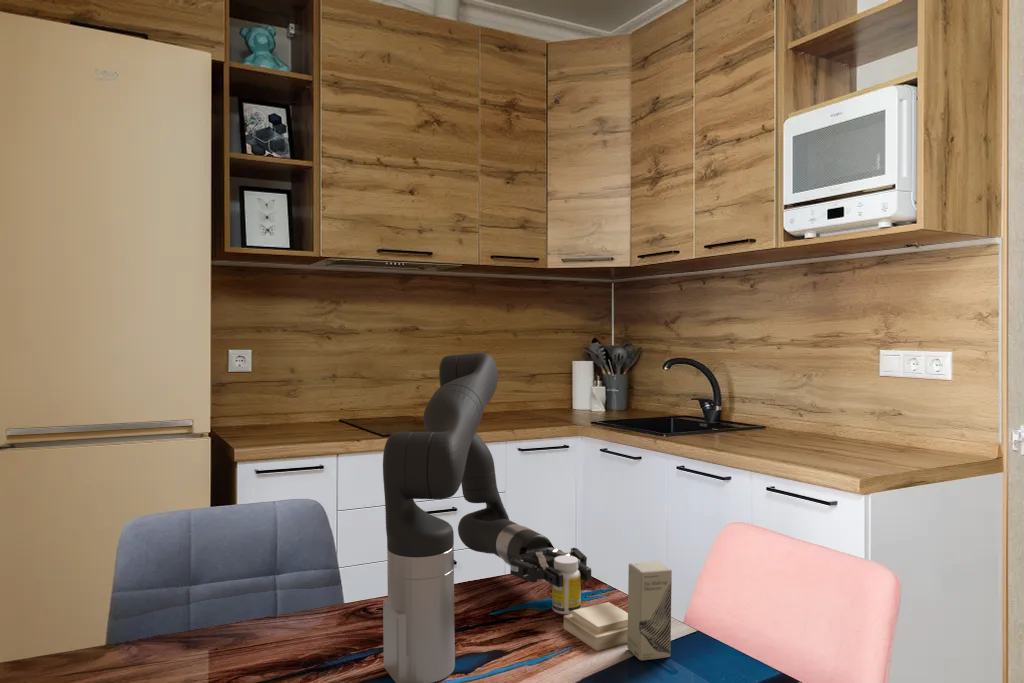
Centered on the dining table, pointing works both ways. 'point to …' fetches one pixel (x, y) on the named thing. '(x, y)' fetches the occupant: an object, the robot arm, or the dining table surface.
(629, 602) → the box
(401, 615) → the robot arm
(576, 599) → the supplement bottle
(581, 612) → the cream stand
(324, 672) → the dining table surface
